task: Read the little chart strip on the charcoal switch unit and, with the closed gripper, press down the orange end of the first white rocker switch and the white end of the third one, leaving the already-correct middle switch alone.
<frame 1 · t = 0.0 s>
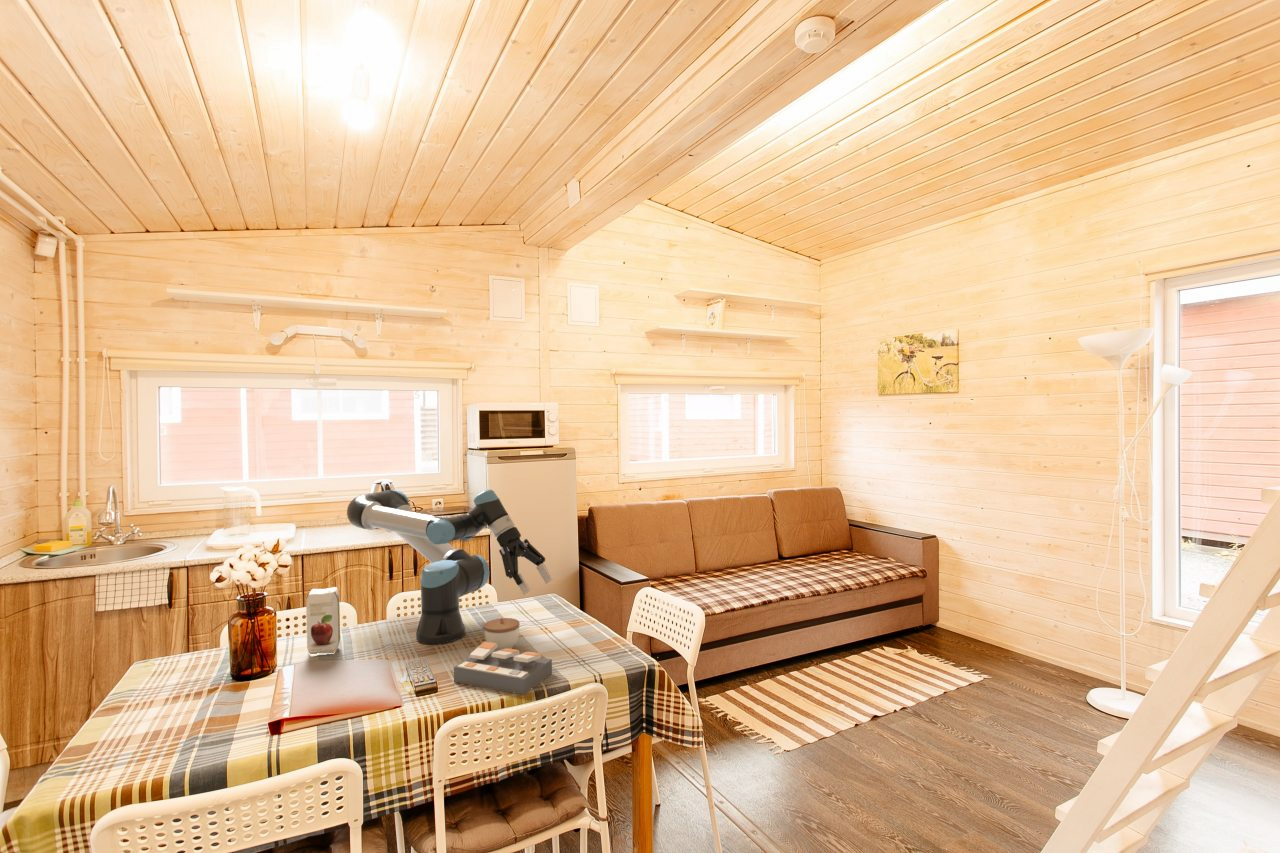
hand: (538, 587, 205), 15 cm above the table, tool tilted 35°, fingers open, 13 cm apart
switch 3: (527, 656, 169), point 6 cm above the table, hinge at -10.0°
lidded jar: (502, 649, 193), on the table
switch 2: (505, 653, 172), point 6 cm above the table, hinge at -10.0°
switch 1: (483, 650, 174), point 6 cm above the table, hinge at 10.0°
switch unit: (503, 677, 171), on the table
juice carton: (324, 653, 191), on the table
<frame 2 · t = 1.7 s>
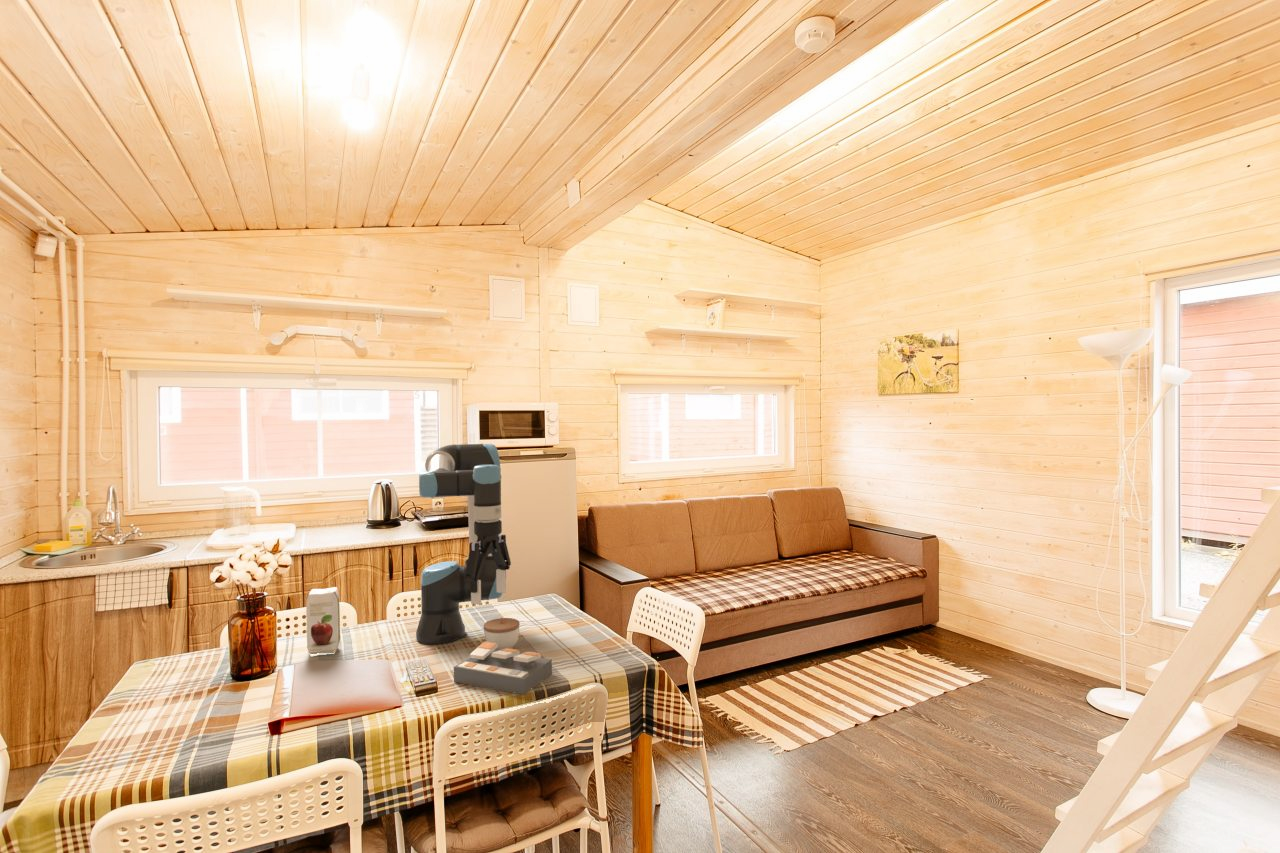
hand: (489, 598, 177), 20 cm above the table, tool pointing down, fingers open, 11 cm apart
nothing on the table moved.
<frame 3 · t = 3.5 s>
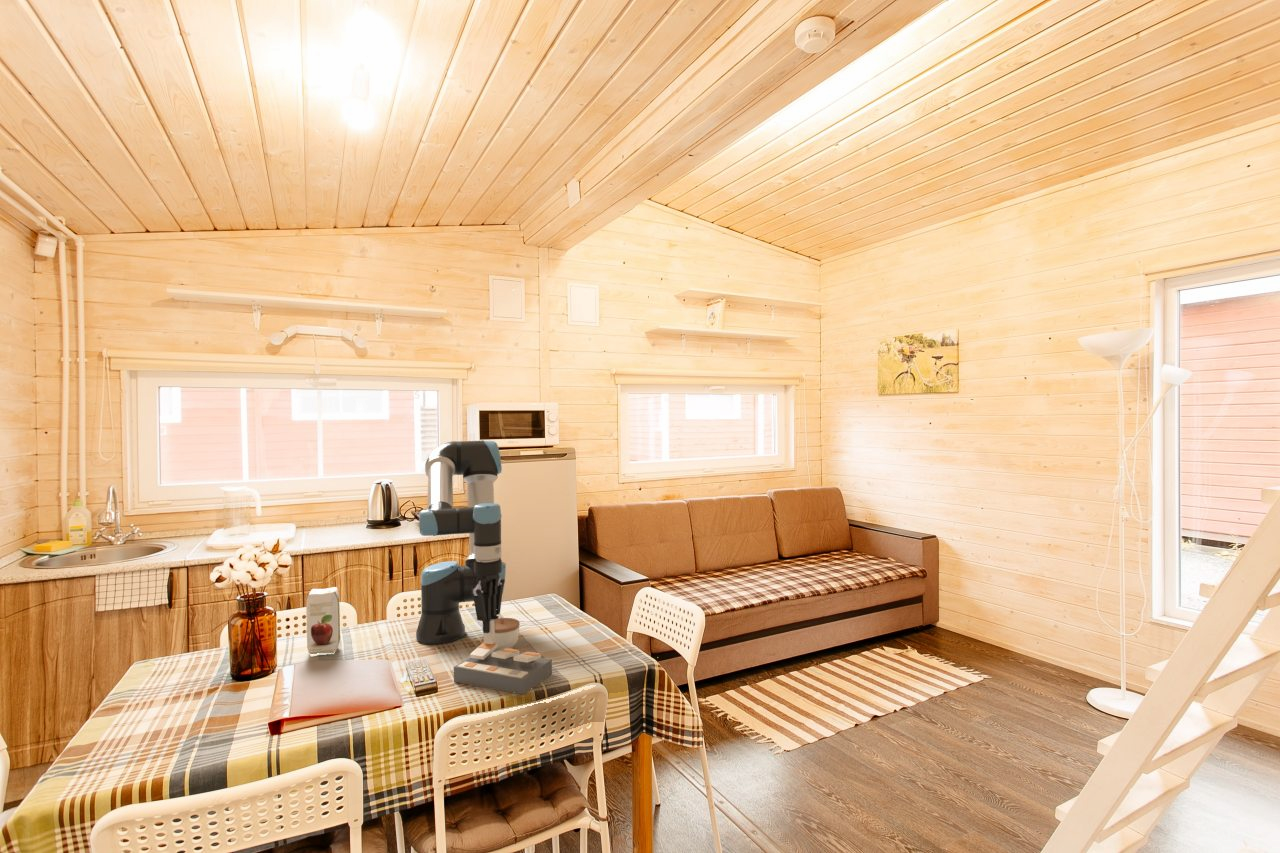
hand: (489, 642, 177), 8 cm above the table, tool pointing down, fingers closed
switch 1: (483, 650, 174), point 6 cm above the table, hinge at 10.0°, touching gripper
everything else where it was.
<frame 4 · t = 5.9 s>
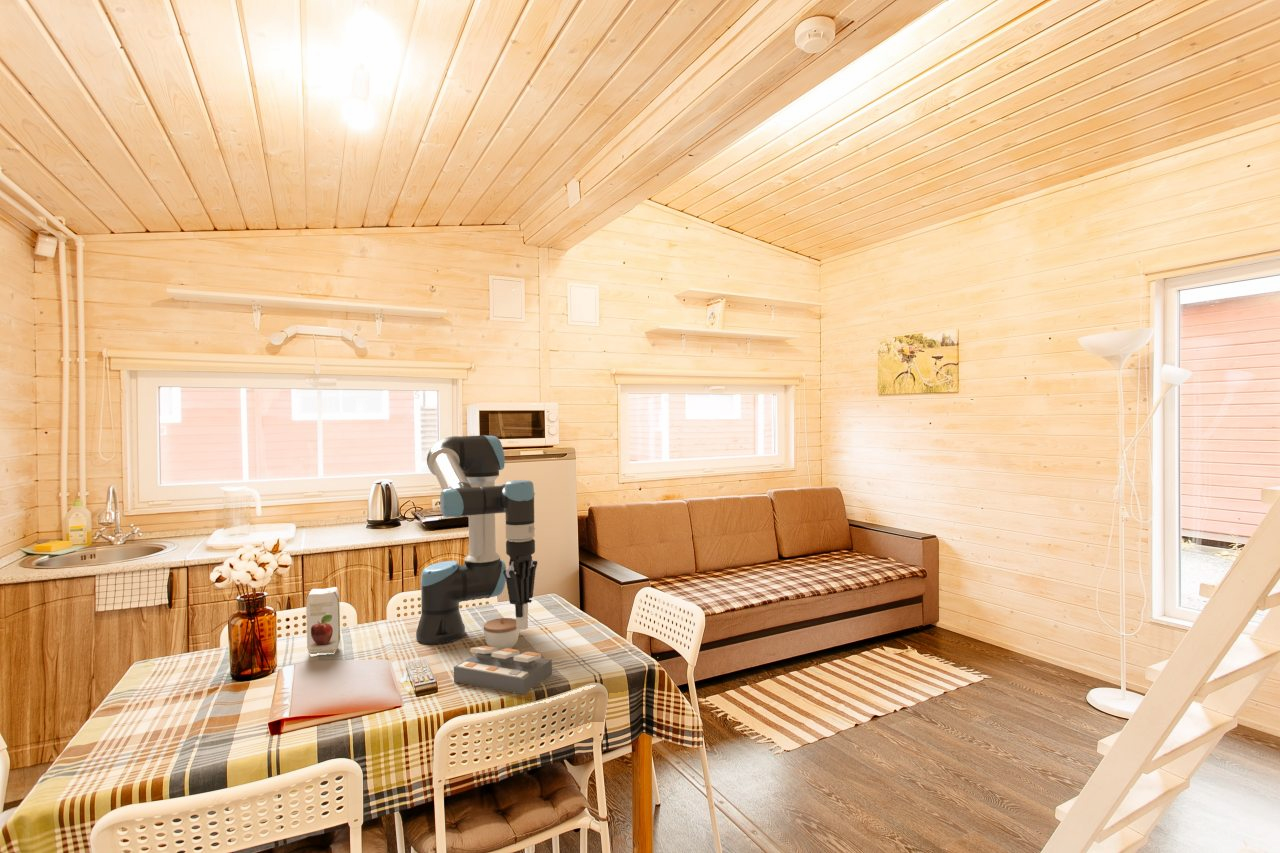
hand: (522, 628, 167), 15 cm above the table, tool pointing down, fingers closed
switch 1: (484, 649, 175), point 6 cm above the table, hinge at -16.6°
everything else where it was.
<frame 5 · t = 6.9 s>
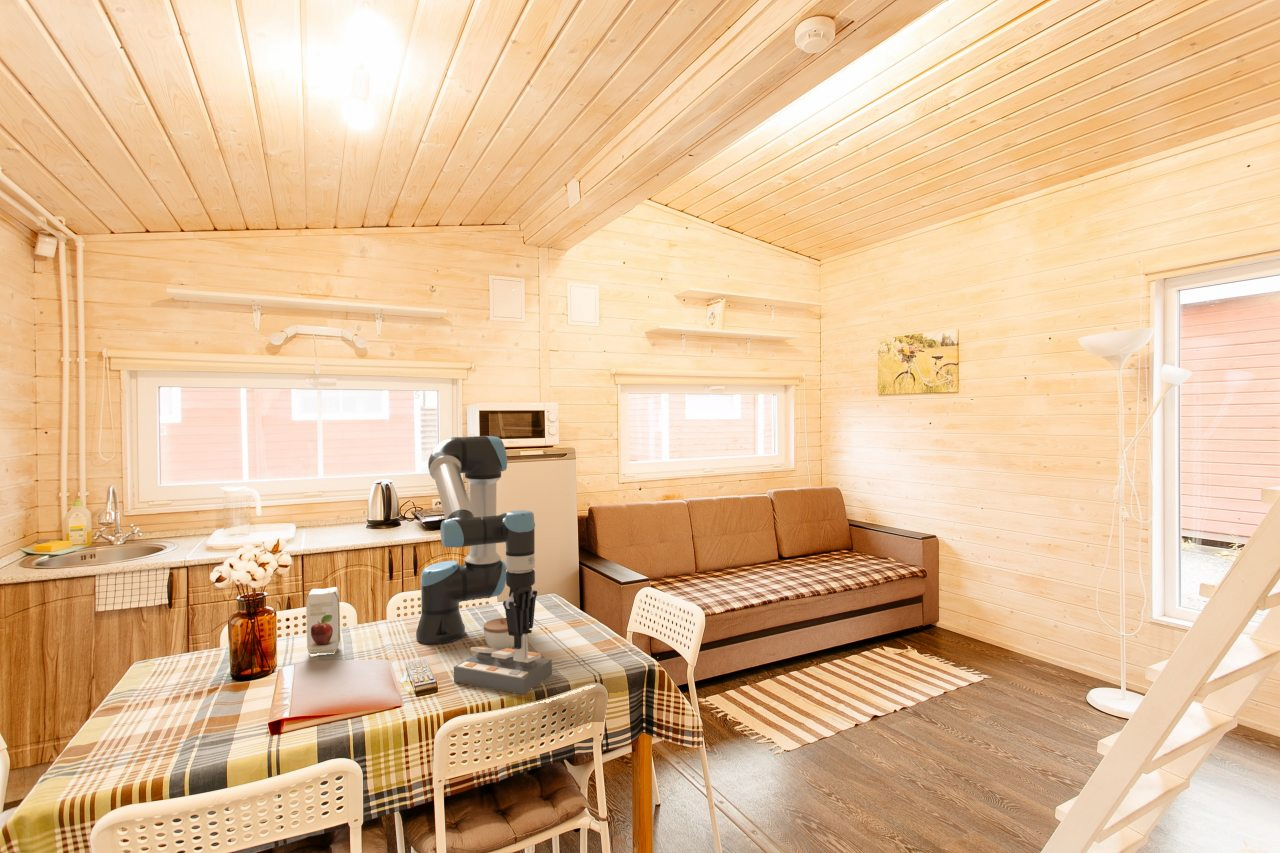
hand: (521, 659, 166), 7 cm above the table, tool pointing down, fingers closed, pressing on switch 3
switch 3: (527, 656, 169), point 6 cm above the table, hinge at -9.2°, touching gripper
switch 1: (484, 649, 175), point 6 cm above the table, hinge at -21.1°
everything else where it was.
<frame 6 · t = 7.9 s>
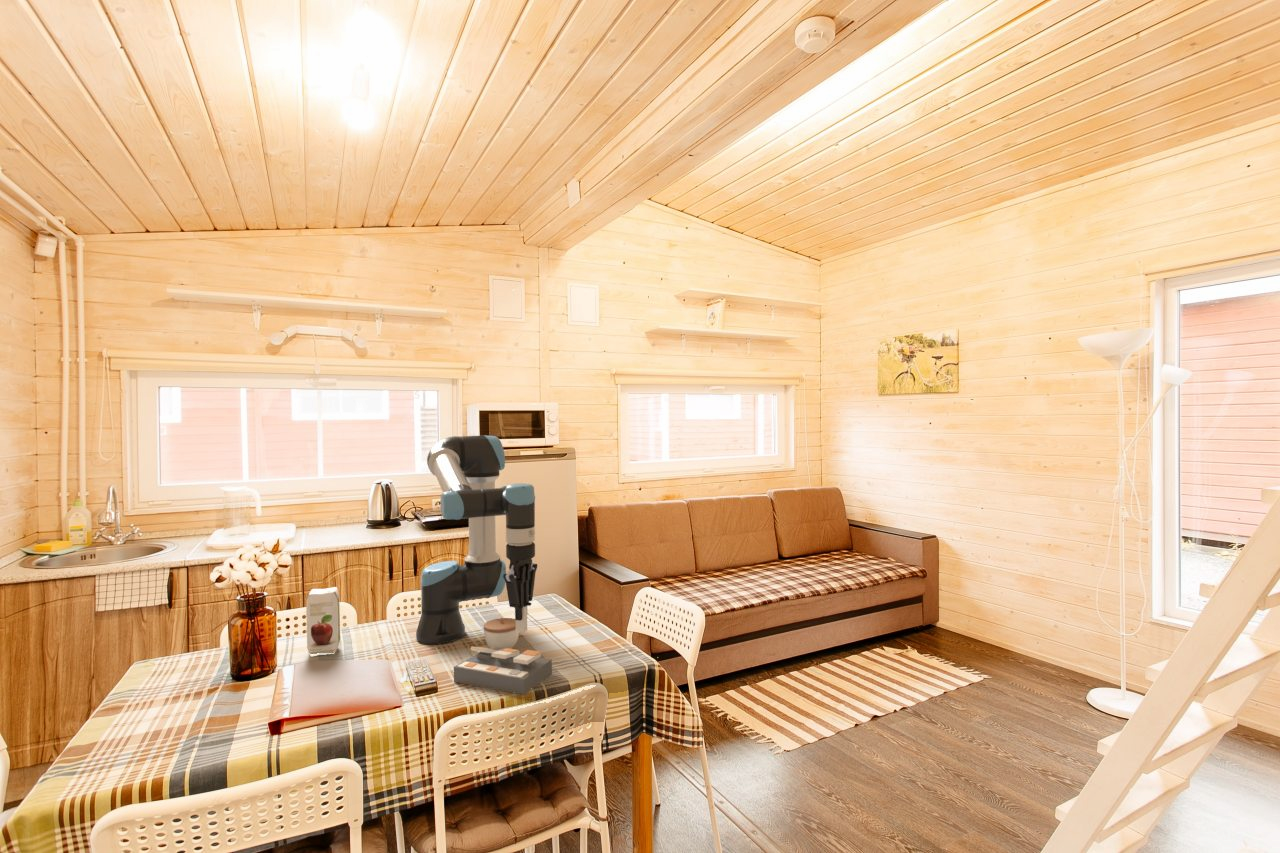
hand: (521, 630, 167), 14 cm above the table, tool pointing down, fingers closed
switch 3: (527, 656, 169), point 6 cm above the table, hinge at -1.7°
switch 1: (484, 649, 175), point 6 cm above the table, hinge at -23.6°
everything else where it was.
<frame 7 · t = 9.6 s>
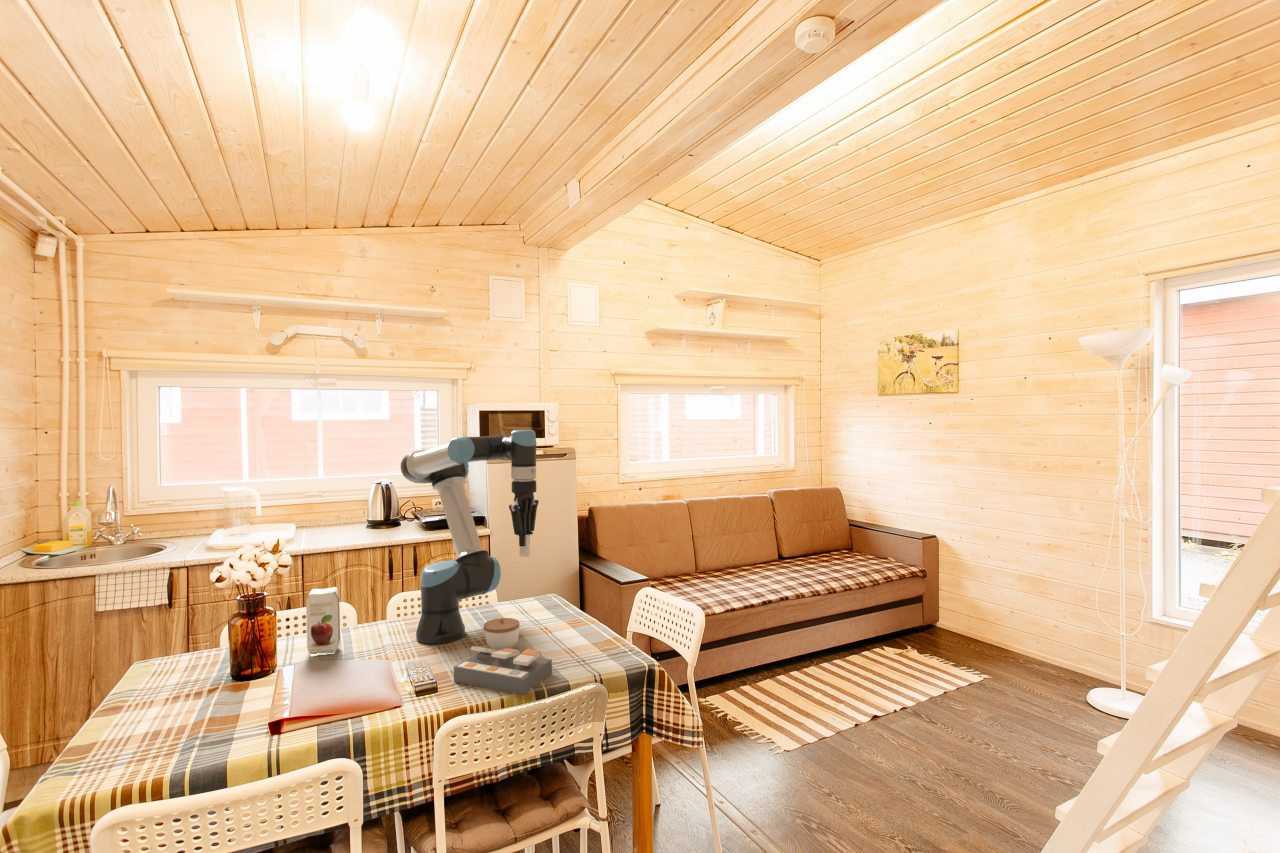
hand: (524, 555, 194), 28 cm above the table, tool pointing down, fingers closed
switch 3: (527, 657, 169), point 6 cm above the table, hinge at 4.7°
switch 1: (484, 649, 175), point 6 cm above the table, hinge at -25.6°
everything else where it was.
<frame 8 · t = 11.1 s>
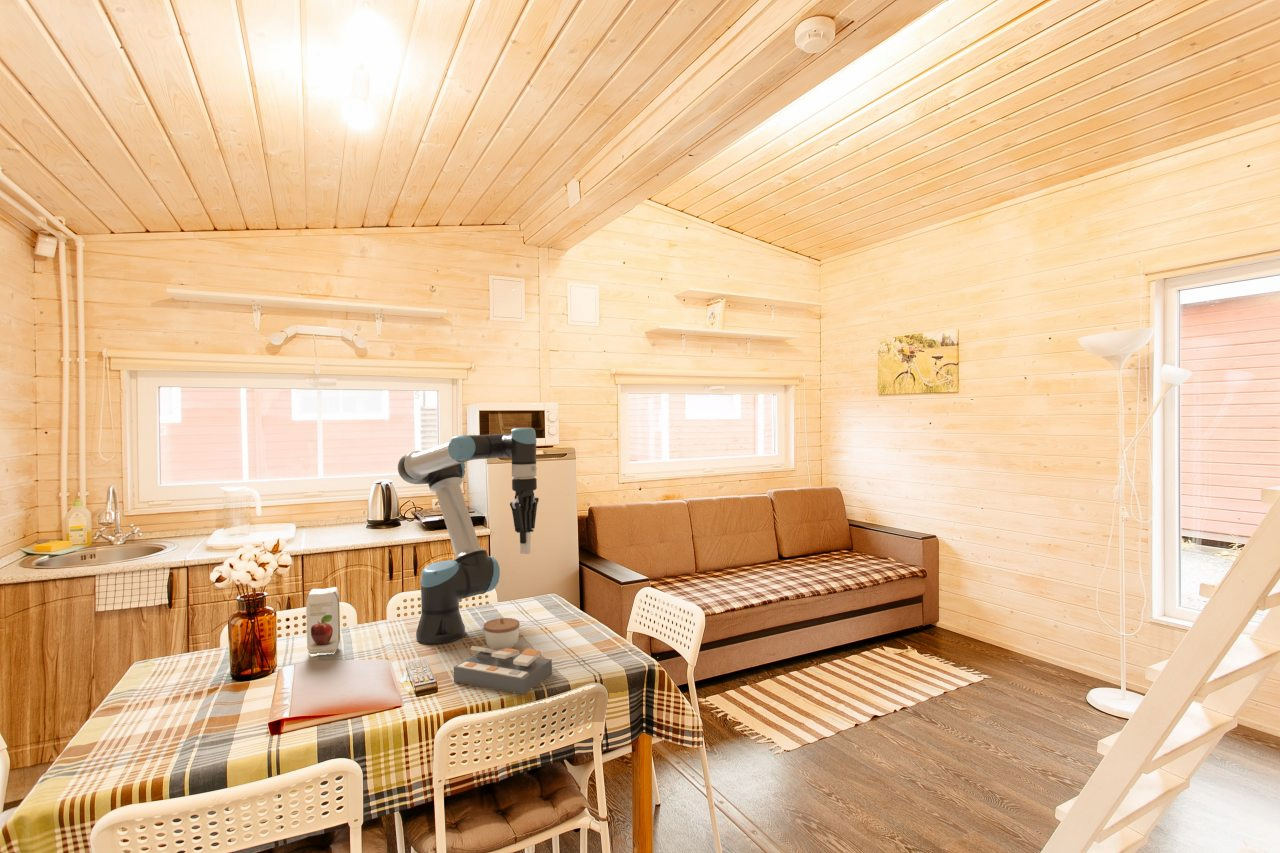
hand: (525, 553, 196), 28 cm above the table, tool pointing down, fingers closed
switch 3: (527, 657, 169), point 6 cm above the table, hinge at 7.0°
switch 1: (484, 649, 175), point 6 cm above the table, hinge at -26.3°
everything else where it was.
at the end: switch 1 at -26° (first picture: +10°); switch 2 at -10° (first picture: -10°); switch 3 at +7° (first picture: -10°) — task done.
